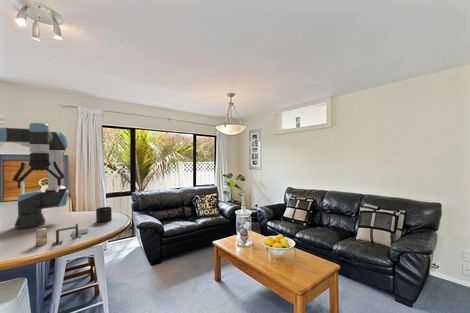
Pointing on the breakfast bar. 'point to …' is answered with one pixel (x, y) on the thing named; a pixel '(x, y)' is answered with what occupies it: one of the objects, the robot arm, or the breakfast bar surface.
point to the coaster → (80, 232)
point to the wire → (65, 229)
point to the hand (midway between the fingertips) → (40, 193)
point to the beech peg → (41, 237)
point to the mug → (103, 214)
